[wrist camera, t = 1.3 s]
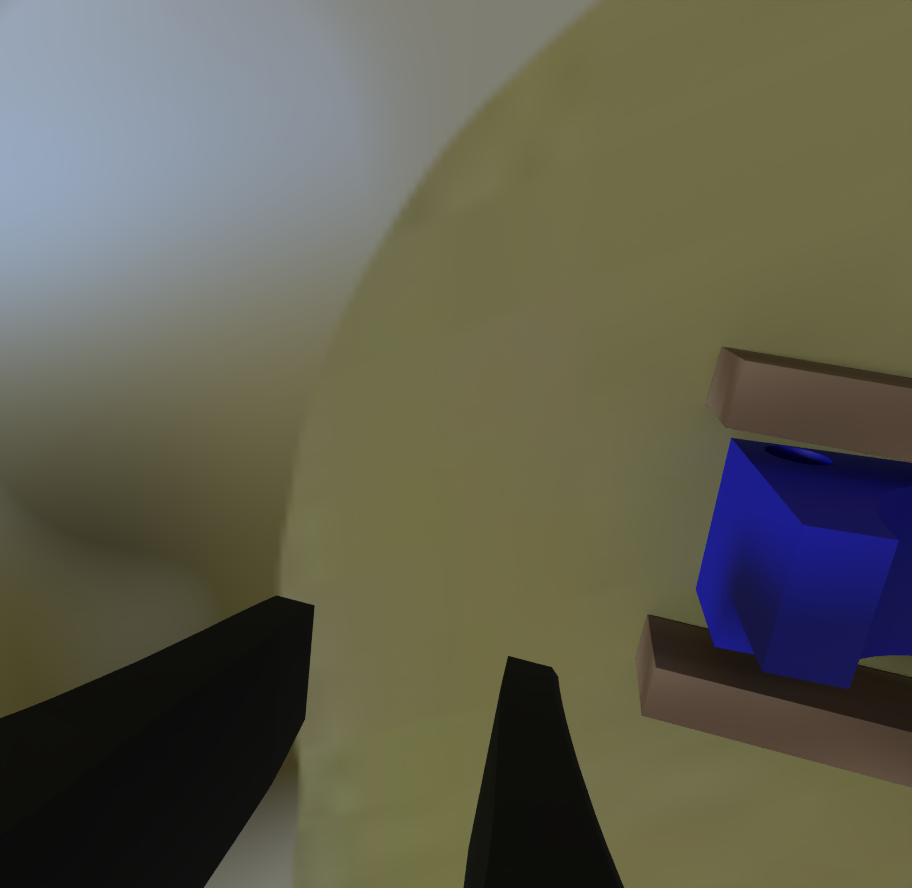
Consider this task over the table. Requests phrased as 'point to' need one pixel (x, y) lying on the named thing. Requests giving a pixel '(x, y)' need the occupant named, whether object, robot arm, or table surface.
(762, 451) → the cable clip
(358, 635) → the table surface
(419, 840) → the table surface
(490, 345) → the table surface
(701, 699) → the cable track
